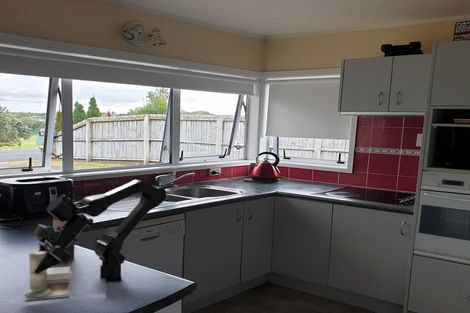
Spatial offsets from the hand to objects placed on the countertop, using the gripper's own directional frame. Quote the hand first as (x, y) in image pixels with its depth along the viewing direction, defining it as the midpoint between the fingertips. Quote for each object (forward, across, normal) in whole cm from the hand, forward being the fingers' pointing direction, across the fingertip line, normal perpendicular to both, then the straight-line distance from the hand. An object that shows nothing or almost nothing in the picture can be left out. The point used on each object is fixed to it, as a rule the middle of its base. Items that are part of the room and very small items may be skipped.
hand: (33, 270), depth 126 cm
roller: (+3, 0, +5) cm, 6 cm away
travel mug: (-5, -27, +18) cm, 33 cm away
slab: (0, -6, +11) cm, 12 cm away
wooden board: (+1, -6, +11) cm, 12 cm away
